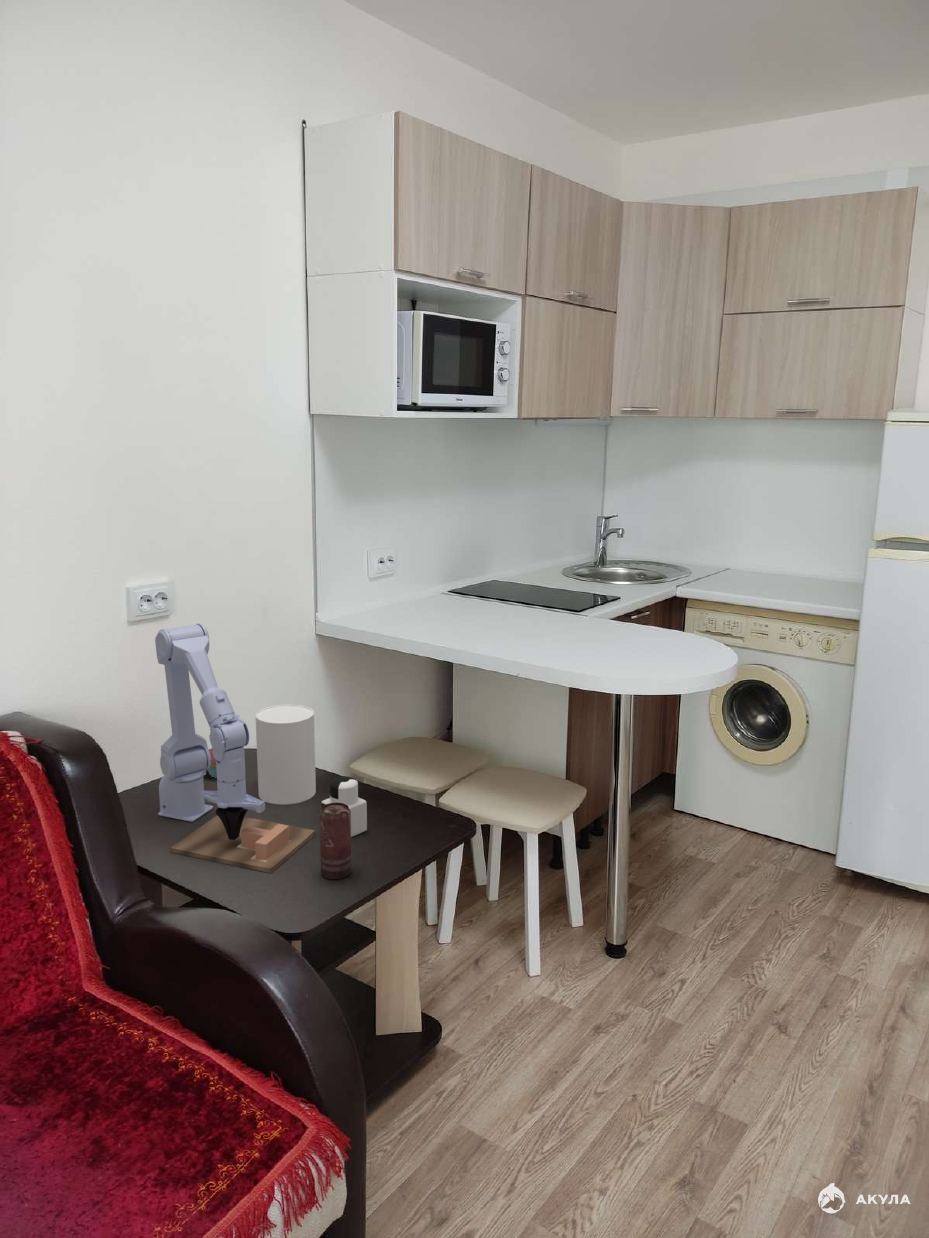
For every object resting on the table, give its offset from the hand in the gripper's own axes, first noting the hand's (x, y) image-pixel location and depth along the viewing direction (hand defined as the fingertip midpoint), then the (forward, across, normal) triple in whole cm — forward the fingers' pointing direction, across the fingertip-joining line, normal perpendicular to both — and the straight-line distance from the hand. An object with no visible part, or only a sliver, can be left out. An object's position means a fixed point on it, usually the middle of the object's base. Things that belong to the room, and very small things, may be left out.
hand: (233, 837), depth 190 cm
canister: (+2, -4, +28) cm, 28 cm away
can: (+2, +25, -2) cm, 25 cm away
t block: (+1, +7, 0) cm, 7 cm away
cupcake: (+2, -25, +31) cm, 40 cm away
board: (+2, +1, +2) cm, 3 cm away
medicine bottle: (+2, +18, +15) cm, 24 cm away
